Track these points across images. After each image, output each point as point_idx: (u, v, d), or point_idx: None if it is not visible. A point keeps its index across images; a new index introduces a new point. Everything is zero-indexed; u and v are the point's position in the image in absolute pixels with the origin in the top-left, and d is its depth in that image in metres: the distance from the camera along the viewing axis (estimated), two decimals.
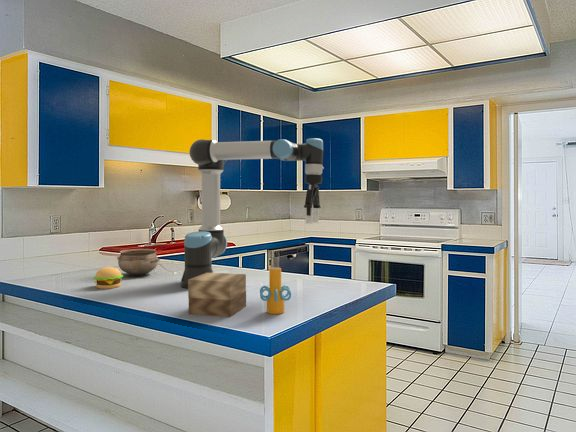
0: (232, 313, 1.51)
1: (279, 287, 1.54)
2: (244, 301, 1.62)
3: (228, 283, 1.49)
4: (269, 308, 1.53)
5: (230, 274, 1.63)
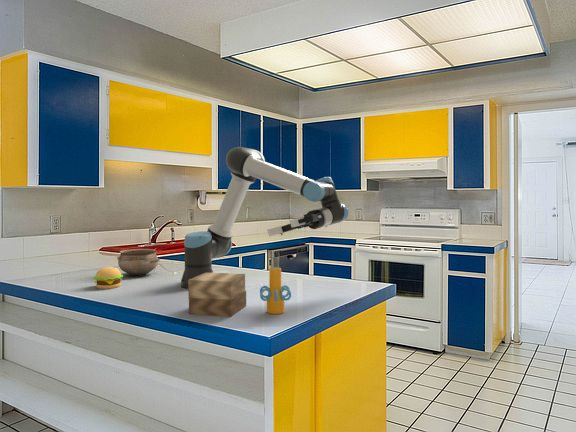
0: (232, 313, 1.51)
1: (279, 287, 1.54)
2: (244, 301, 1.62)
3: (229, 283, 1.50)
4: (269, 308, 1.53)
5: (229, 274, 1.63)
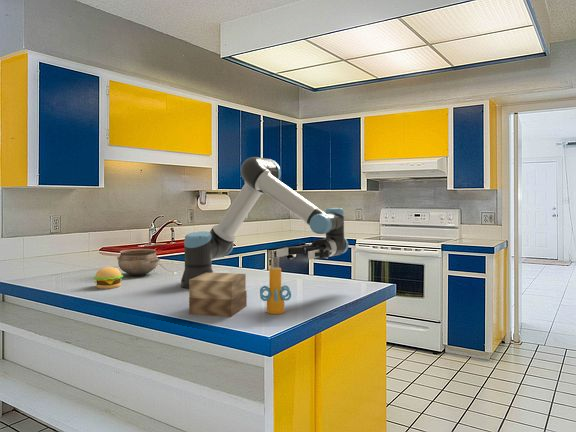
0: (233, 313, 1.51)
1: (279, 287, 1.54)
2: (244, 301, 1.62)
3: (230, 283, 1.50)
4: (269, 308, 1.53)
5: (230, 274, 1.63)
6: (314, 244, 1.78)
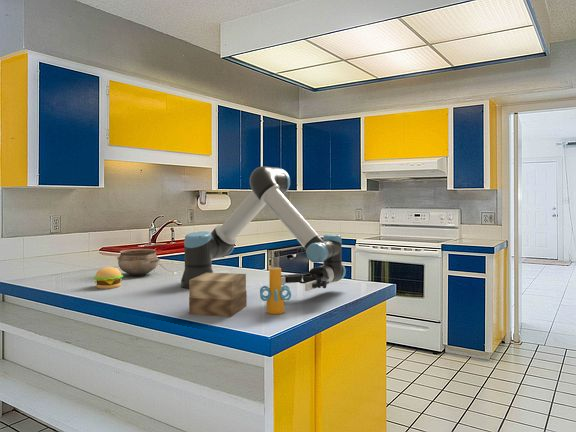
0: (233, 313, 1.51)
1: (279, 287, 1.54)
2: (244, 301, 1.62)
3: (230, 283, 1.49)
4: (269, 308, 1.53)
5: (230, 274, 1.63)
6: (311, 272, 1.77)
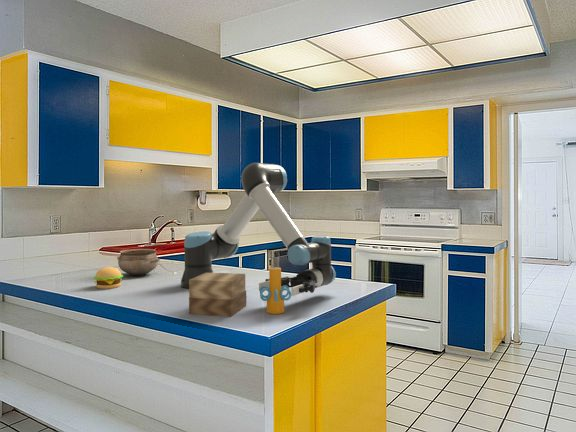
0: (233, 313, 1.52)
1: (279, 287, 1.54)
2: (244, 301, 1.62)
3: (230, 283, 1.50)
4: (269, 308, 1.53)
5: (230, 274, 1.63)
6: (299, 275, 1.70)
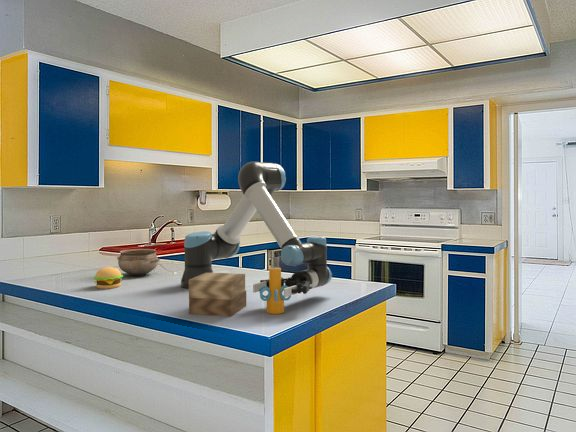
0: (232, 313, 1.52)
1: (279, 287, 1.54)
2: (244, 301, 1.62)
3: (229, 283, 1.50)
4: (269, 308, 1.53)
5: (229, 274, 1.64)
6: (294, 276, 1.68)
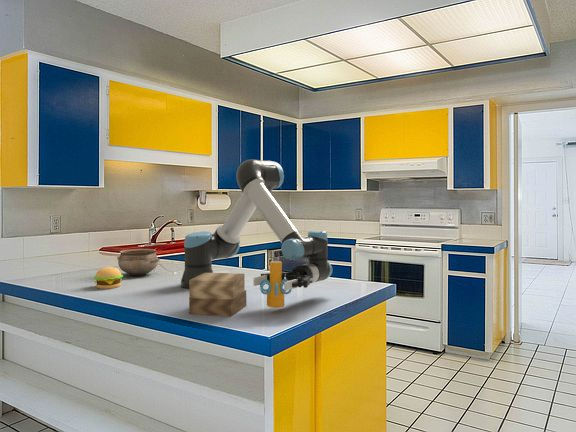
0: (233, 313, 1.52)
1: (279, 281, 1.54)
2: (244, 301, 1.62)
3: (231, 283, 1.50)
4: (269, 302, 1.53)
5: (229, 274, 1.63)
6: (295, 270, 1.67)
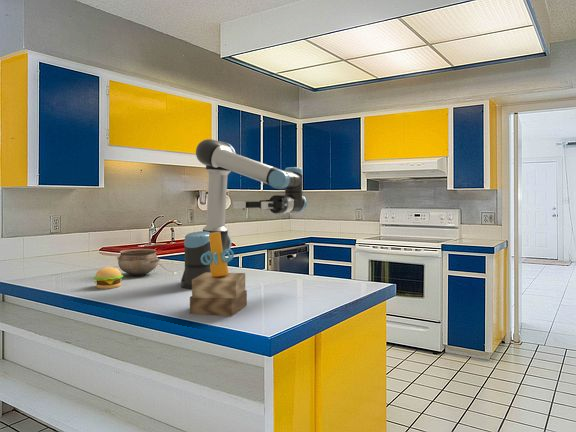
0: (233, 312, 1.52)
1: (219, 250, 1.57)
2: (244, 301, 1.63)
3: (234, 282, 1.51)
4: (212, 271, 1.57)
5: (230, 273, 1.65)
6: (272, 199, 1.87)
